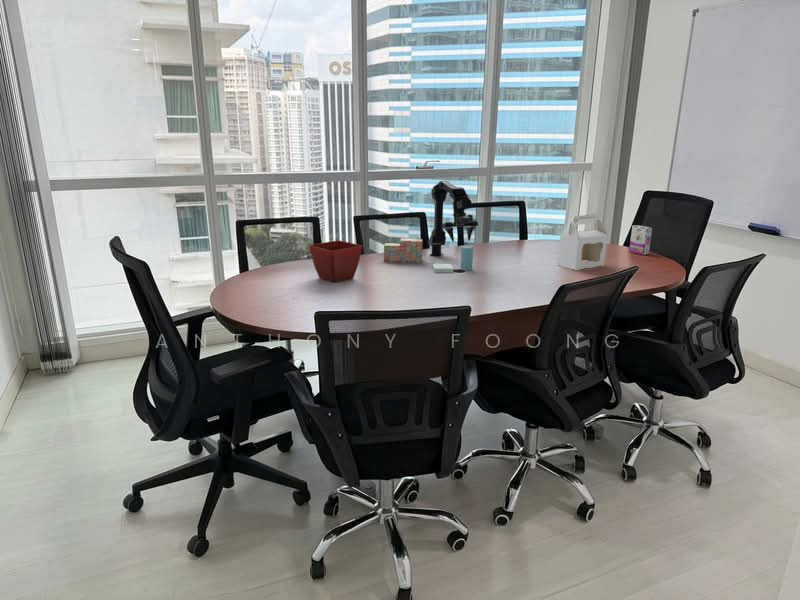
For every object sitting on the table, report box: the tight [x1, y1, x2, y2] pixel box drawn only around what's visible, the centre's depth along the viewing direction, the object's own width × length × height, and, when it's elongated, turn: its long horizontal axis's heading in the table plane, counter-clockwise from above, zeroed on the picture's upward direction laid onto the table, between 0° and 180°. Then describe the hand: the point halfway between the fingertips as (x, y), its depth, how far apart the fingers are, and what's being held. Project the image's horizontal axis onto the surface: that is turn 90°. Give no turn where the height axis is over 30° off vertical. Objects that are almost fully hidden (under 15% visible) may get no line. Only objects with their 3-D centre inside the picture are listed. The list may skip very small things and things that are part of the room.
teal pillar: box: [460, 245, 474, 271], centre depth 305 cm, size 4×4×12 cm
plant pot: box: [309, 240, 363, 283], centre depth 285 cm, size 19×19×17 cm
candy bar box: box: [628, 224, 653, 256], centre depth 343 cm, size 11×5×16 cm, turn 28°
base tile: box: [432, 263, 454, 273], centre depth 304 cm, size 10×10×2 cm
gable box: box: [557, 213, 608, 270], centre depth 311 cm, size 22×13×28 cm, turn 119°
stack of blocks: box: [383, 238, 424, 263], centre depth 322 cm, size 21×6×12 cm, turn 84°
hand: (461, 241), depth 302 cm, fingers open, 9 cm apart
